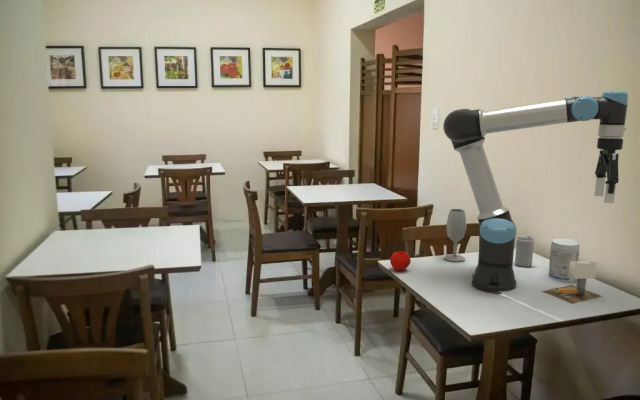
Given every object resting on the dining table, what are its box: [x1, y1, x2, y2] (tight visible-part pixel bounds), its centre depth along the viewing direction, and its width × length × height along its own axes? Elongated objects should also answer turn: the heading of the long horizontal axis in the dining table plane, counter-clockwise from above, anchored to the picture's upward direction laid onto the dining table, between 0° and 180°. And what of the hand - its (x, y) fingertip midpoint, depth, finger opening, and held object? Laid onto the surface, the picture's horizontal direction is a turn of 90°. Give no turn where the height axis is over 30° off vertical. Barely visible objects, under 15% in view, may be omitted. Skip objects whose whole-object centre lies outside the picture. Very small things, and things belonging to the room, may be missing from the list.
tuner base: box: [541, 284, 603, 305], centre depth 174 cm, size 15×12×2 cm
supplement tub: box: [548, 238, 580, 283], centre depth 189 cm, size 10×10×15 cm
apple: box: [389, 251, 412, 272], centre depth 199 cm, size 8×8×7 cm
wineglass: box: [443, 208, 467, 263], centre depth 213 cm, size 9×9×21 cm
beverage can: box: [514, 234, 535, 268], centre depth 207 cm, size 6×6×12 cm
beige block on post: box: [557, 260, 598, 296], centre depth 172 cm, size 12×3×11 cm, turn 88°
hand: (603, 199), depth 178 cm, fingers open, 13 cm apart
